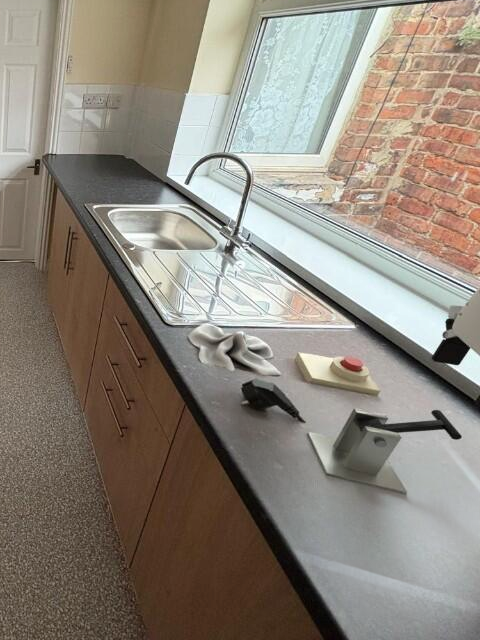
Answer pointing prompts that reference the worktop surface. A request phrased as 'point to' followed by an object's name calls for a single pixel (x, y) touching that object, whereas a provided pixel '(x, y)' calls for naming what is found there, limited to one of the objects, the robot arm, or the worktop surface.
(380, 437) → the lever mounting bracket
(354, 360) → the button
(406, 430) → the switch lever
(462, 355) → the robot arm
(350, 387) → the control block
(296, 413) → the power plug
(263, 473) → the worktop surface
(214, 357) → the cloth
